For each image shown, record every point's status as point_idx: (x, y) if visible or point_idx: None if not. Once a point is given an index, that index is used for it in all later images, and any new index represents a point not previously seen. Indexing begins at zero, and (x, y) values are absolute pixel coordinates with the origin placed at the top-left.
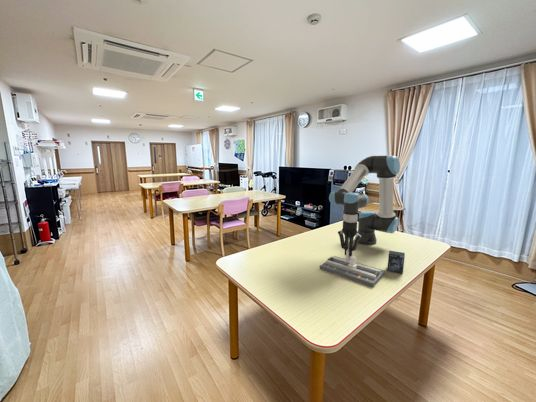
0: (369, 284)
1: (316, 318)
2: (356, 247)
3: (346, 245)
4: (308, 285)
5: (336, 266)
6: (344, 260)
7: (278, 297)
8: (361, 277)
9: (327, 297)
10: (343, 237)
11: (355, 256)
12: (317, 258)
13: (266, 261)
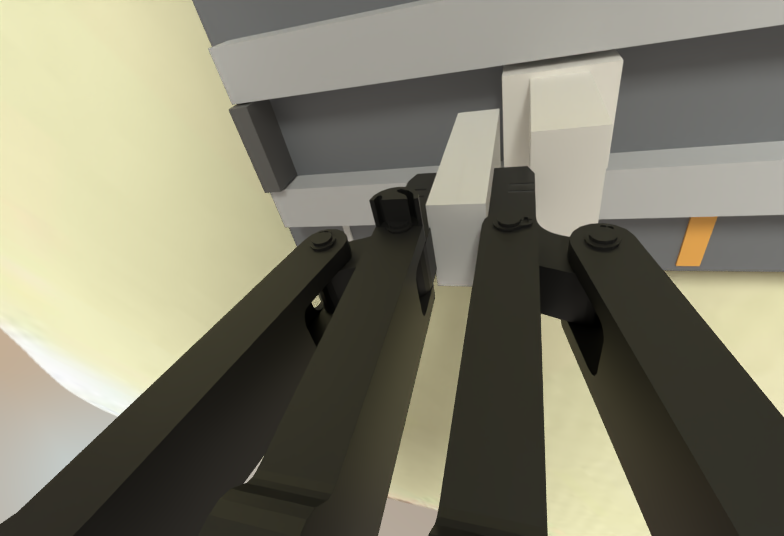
0: None
1: (582, 515)
2: (666, 282)
3: (413, 368)
4: (422, 406)
5: None
6: (388, 54)
7: (407, 479)
8: (725, 237)
9: (555, 440)
10: (174, 450)
11: (606, 153)
12: (134, 98)
13: (120, 338)
